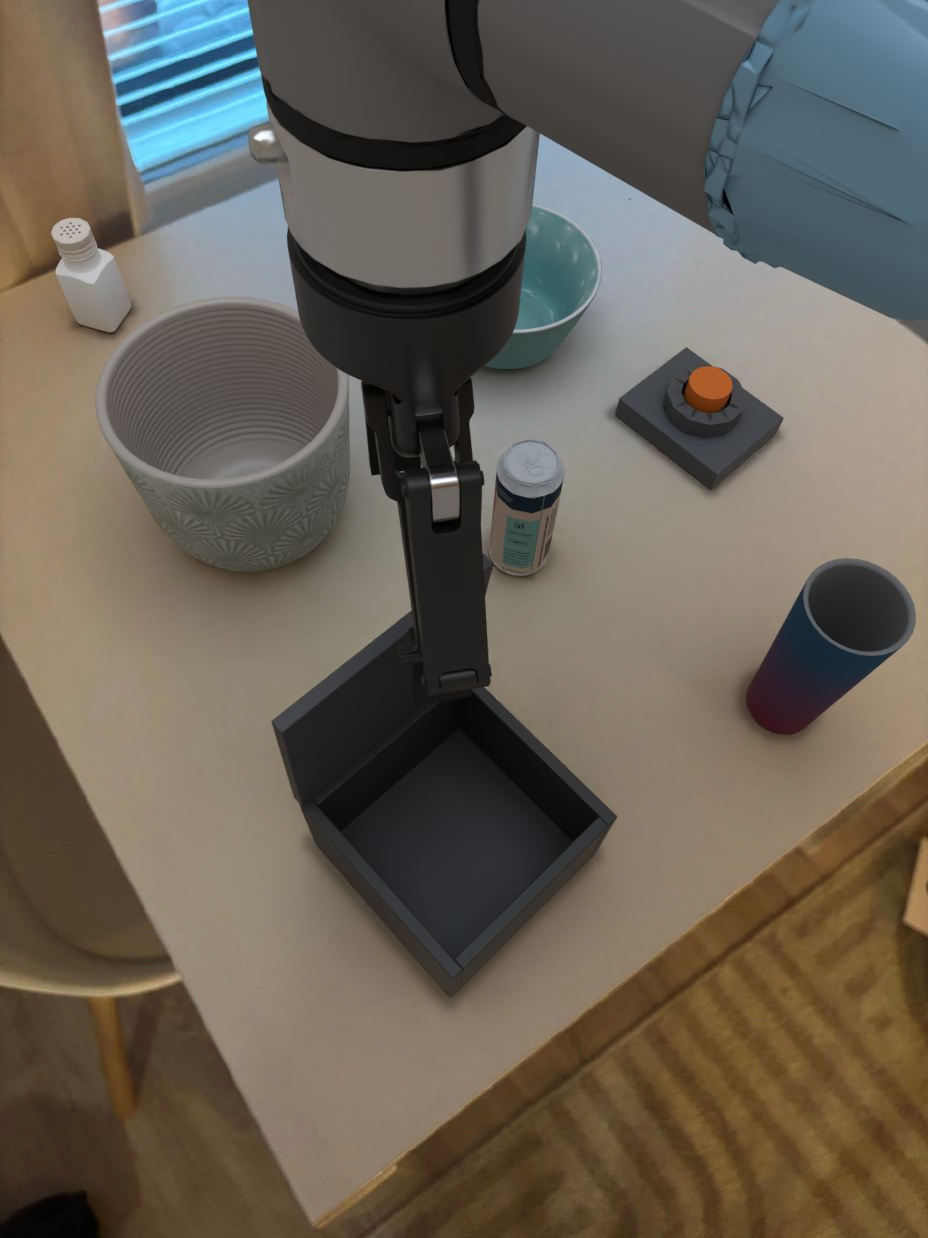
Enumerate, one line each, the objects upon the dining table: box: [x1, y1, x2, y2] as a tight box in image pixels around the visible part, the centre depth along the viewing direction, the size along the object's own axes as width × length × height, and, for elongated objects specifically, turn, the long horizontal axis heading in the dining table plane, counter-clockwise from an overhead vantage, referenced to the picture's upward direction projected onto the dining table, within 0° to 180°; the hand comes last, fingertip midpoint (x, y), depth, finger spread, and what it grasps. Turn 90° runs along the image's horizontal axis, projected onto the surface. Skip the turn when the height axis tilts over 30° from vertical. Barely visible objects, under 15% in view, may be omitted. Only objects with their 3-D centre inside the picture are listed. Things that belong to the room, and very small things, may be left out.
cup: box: [745, 557, 917, 736], centre depth 64 cm, size 7×7×15 cm
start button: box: [684, 366, 732, 413], centre depth 79 cm, size 4×4×2 cm
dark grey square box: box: [299, 687, 618, 999], centre depth 61 cm, size 14×14×9 cm
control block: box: [614, 346, 784, 491], centre depth 81 cm, size 11×9×4 cm
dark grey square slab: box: [270, 553, 494, 806], centre depth 52 cm, size 14×14×1 cm
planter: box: [94, 296, 351, 573], centre depth 70 cm, size 17×17×15 cm
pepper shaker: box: [50, 217, 132, 333], centre depth 83 cm, size 4×4×10 cm
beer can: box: [488, 438, 565, 577], centre depth 71 cm, size 5×5×12 cm
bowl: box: [484, 203, 603, 370], centre depth 84 cm, size 16×16×8 cm
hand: (416, 573), depth 48 cm, fingers open, 13 cm apart
